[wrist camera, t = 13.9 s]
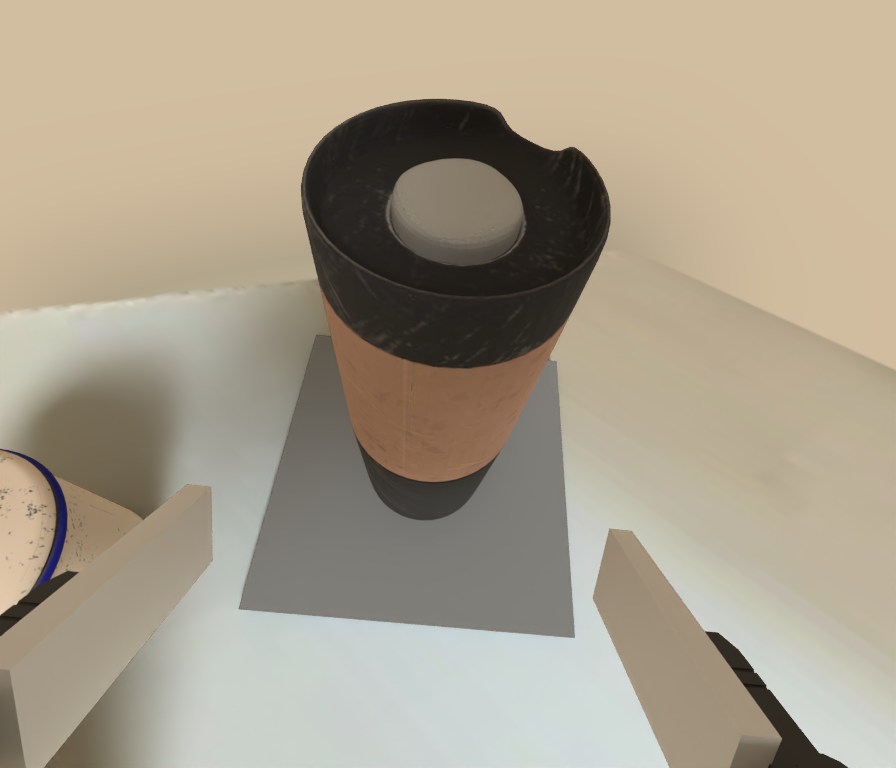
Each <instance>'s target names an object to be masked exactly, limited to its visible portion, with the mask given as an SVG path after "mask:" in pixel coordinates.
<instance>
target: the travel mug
mask: <svg viewBox="0 0 896 768" xmlns="http://www.w3.org/2000/svg"><path fill="white" fill-rule="evenodd" d="M301 197H302V208H303V215H304V220H305V224H306V228H307V232H308V237H309V241H310V245H311V250H312V254H313V258H314V263H315V267H316V271H317V276H318V280H319V285H320V289H321V293H322V298H323V302H324V306H325V311H326V315H327V320H328V324H329V328H330V333H331V337H332V341H333V346H334V350H335V354H336V359H337V363H338V368H339V372H340V376H341V381H342V385H343V389H344V394H345V398H346V402H347V407H348V411H349V416H350V420H351V423H352V427H353V431H354V434H355V437H356V440H357V443H358V446H359V449H360V452H361V455H362V458H363V461H364V464H365V467H366V470H367V473H368V476H369V478H370V481H371V483H372V486H373V488H374V490H375V492H376V493H377V495H378V497H379V498H380V499H381V500H382V502H383V503H384V504H385V505H386V506H387V507H389V508H390V509H391V510H393V511H394V512H396V513H398V514H400V515H401V516H404V517H407V518H410V519H415V520H435V519H440V518H443V517H446V516H448V515H450V514H452V513H454V512H456V511H457V510H459V509H460V508H461V507H462V506H463V505H465V504H466V503H467V501H468V500H469V499H470V498H471V497H472V495H473V494H474V492H475V491H476V489H477V488H478V486H479V485H480V483H481V481H482V480H483V478H484V477H485V475H486V473H487V472H488V470H489V469H490V467H491V466H492V464H493V462H494V461H495V459H496V458H497V456H498V454H499V453H500V451H501V450H502V448H503V446H504V445H505V443H506V442H507V440H508V438H509V436H510V434H511V432H512V430H513V428H514V426H515V424H516V422H517V420H518V418H519V416H520V414H521V412H522V410H523V408H524V406H525V404H526V402H527V400H528V398H529V396H530V394H531V392H532V390H533V388H534V386H535V384H536V382H537V380H538V378H539V376H540V374H541V372H542V370H543V368H544V366H545V364H546V362H547V360H548V358H549V356H550V354H551V352H552V350H553V348H554V346H555V344H556V342H557V340H558V338H559V336H560V334H561V332H562V330H563V328H564V326H565V324H566V322H567V320H568V318H569V316H570V314H571V312H572V311H573V309H574V307H575V305H576V303H577V301H578V299H579V297H580V295H581V293H582V291H583V289H584V287H585V285H586V283H587V281H588V279H589V277H590V275H591V273H592V271H593V269H594V267H595V265H596V263H597V261H598V259H599V256H600V254H601V252H602V249H603V247H604V245H605V242H606V240H607V236H608V232H609V227H610V202H609V197H608V193H607V190H606V187H605V185H604V182H603V180H602V178H601V177H600V175H599V173H598V171H597V169H596V168H595V167H594V165H593V164H592V163H591V162H590V160H589V159H588V158H587V157H586V156H585V155H584V154H583V153H582V152H581V151H579V150H578V149H576V148H575V147H569V148H566V149H564V150H562V151H552V150H549V149H545V148H543V147H541V146H539V145H536V144H534V143H532V142H530V141H528V140H527V139H524V138H523V137H521V136H520V135H518V134H517V133H516V132H514V131H513V130H512V129H511V128H510V127H509V125H508V124H507V123H506V121H505V119H504V117H503V116H502V114H501V113H500V112H499V111H498V110H497V109H495V108H493V107H491V106H488V105H485V104H481V103H476V102H471V101H462V100H451V99H422V100H411V101H404V102H398V103H392V104H389V105H384V106H380V107H376V108H374V109H371V110H368V111H366V112H363V113H360V114H358V115H356V116H354V117H352V118H350V119H348V120H346V121H345V122H343V123H341V124H340V125H338V126H337V127H335V128H334V129H333V130H332V131H330V132H329V133H328V134H327V135H326V136H324V137H323V139H322V140H321V141H320V142H319V143H318V144H317V145H316V147H315V148H314V150H313V152H312V153H311V155H310V156H309V158H308V161H307V163H306V166H305V169H304V172H303V177H302V183H301Z"/></svg>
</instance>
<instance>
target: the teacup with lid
mask: <svg viewBox="0 0 896 768" xmlns="http://www.w3.org/2000/svg"><path fill="white" fill-rule="evenodd" d="M142 521H143V519H142V518H141V517H140V516H138V515H137V514H136V513H134V512H133V511H131V510H129V509H127V508H124V507H122V506H120V505H118V504H116V503H113V502H111V501H109V500H107V499H105V498H102V497H100V496H98V495H96V494H94V493H91V492H89V491H87V490H85V489H83V488H80V487H78V486H76V485H74V484H72V483H69V482H67V481H65V480H63V479H61V478H59V477H56V476H54V475H53V474H52V473H51V472H50V471H49V470H48V469H47V468H46V467H45V466H43V465H42V464H40V463H39V462H37V461H36V460H34V459H32V458H30V457H28V456H26V455H23V454H20V453H17V452H13V451H9V450H3V449H0V615H1V614H2V613H3V612H5V611H6V610H7V609H9V608H10V607H11V606H13V605H17V603H18V601H19V600H20V599H22V598H23V597H24V596H26V595H27V594H28V593H30V592H31V591H32V590H34V589H35V588H36V587H37V586H39V585H40V584H42V583H44V582H46V581H48V580H50V579H52V578H54V577H56V576H58V575H60V574H62V573H64V572H66V571H73V572H80V571H81V570H83V569H84V568H85V567H86V566H88V565H89V564H90V563H91V562H92V561H94V560H95V559H96V558H97V557H99V556H100V555H101V554H102V553H103V552H105V551H106V550H107V549H108V548H110V547H111V546H112V545H113V544H115V543H116V542H117V541H118V540H119V539H121V538H122V537H123V536H124V535H126V534H127V533H128V532H129V531H130V530H132V529H133V528H134V527H135V526H137V525H138V524H139V523H140V522H142Z"/></svg>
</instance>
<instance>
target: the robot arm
mask: <svg viewBox="0 0 896 768" xmlns="http://www.w3.org/2000/svg"><path fill="white" fill-rule="evenodd" d="M211 562H212V505H211V487H208V486H198V485H189V484H187V485H186V486H185V487H183V488H182V489H181V490H180V491H178V492H177V493H176V494H175V495H173V496H172V497H171V498H170V499H169V500H167V501H166V502H165V503H164V504H162V505H161V506H160V507H159V508H158V509H156V510H155V511H154V512H153V513H151V514H150V515H149V516H148V517H146V518H145V519H144V520H143V521H142V522H140V523H139V524H138V525H137V526H135V527H134V528H133V529H132V530H130V531H129V532H128V533H127V534H126V535H124V536H123V537H122V538H121V539H119V540H118V541H117V542H116V543H115V544H113V545H112V546H111V547H110V548H108V549H107V550H106V551H105V552H103V553H102V554H101V555H100V556H99V557H97V558H96V559H95V560H94V561H92V562H91V563H90V564H89V565H88V566H86V567H85V568H84V569H83V570H81V571H80V572H73V571H66V572H64V573H62V574H60V575H58V576H56V577H54V578H52V579H50V580H48V581H46V582H44V583H42V584H40V585H39V586H37V587H36V588H35V589H34V590H32V591H31V592H30V593H28V594H27V595H26V596H24V597H23V598H22V599H20V600H19V601H18V603H17V605H13V606H11V607H10V608H9V609H7V610H6V611H5V612H3V613H2V614H1V615H0V768H44V767H45V766H46V764H47V763H48V762H49V761H50V759H51V758H52V757H53V756H54V755H55V753H56V752H57V751H58V750H59V748H60V747H61V746H62V745H63V743H64V742H65V741H66V740H67V739H68V737H69V736H70V735H71V734H72V732H73V731H74V730H75V729H76V728H77V726H78V725H79V724H80V723H81V721H82V720H83V719H84V718H85V716H86V715H87V714H88V713H89V712H90V710H91V709H92V708H93V707H94V705H95V704H96V703H97V702H98V700H99V699H100V698H101V697H102V696H103V694H104V693H105V692H106V691H107V689H108V688H109V687H110V686H111V685H112V683H113V682H114V681H115V680H116V678H117V677H118V676H119V675H120V673H121V672H122V671H123V670H124V669H125V667H126V666H127V665H128V664H129V662H130V661H131V660H132V659H133V657H134V656H135V655H136V654H137V653H138V651H139V650H140V649H141V648H142V646H143V645H144V644H145V643H146V641H147V640H148V639H149V638H150V637H151V635H152V634H153V633H154V632H155V630H156V629H157V628H158V627H159V626H160V624H161V623H162V622H163V621H164V619H165V618H166V617H167V616H168V614H169V613H170V612H171V611H172V610H173V608H174V607H175V606H176V605H177V603H178V602H179V601H180V600H181V598H182V597H183V596H184V595H185V594H186V592H187V591H188V590H189V589H190V587H191V586H192V585H193V584H194V583H195V581H196V580H197V579H198V578H199V576H200V575H201V574H202V573H203V571H204V570H205V569H206V568H207V567H208V565H209V564H210V563H211ZM593 600H594V602H595V604H596V606H597V608H598V611H599V613H600V615H601V617H602V620H603V622H604V624H605V626H606V628H607V631H608V633H609V635H610V637H611V639H612V642H613V644H614V646H615V648H616V650H617V653H618V655H619V657H620V659H621V661H622V664H623V666H624V668H625V670H626V672H627V675H628V677H629V679H630V681H631V684H632V686H633V688H634V690H635V692H636V695H637V697H638V699H639V701H640V703H641V706H642V708H643V710H644V712H645V714H646V717H647V719H648V721H649V723H650V725H651V728H652V730H653V732H654V734H655V736H656V739H657V741H658V743H659V745H660V747H661V750H662V752H663V754H664V756H665V759H666V761H667V763H668V765H669V767H670V768H848V767H846V766H845V765H844V764H842V763H841V762H839V761H837V760H835V759H833V758H831V757H829V756H826V755H824V754H820V753H819V752H818V751H817V750H816V749H815V747H814V746H813V745H812V744H811V742H810V741H809V740H808V738H807V737H806V736H805V735H804V733H803V732H802V731H801V729H800V728H799V727H798V726H797V724H796V723H795V722H794V720H793V719H792V718H791V717H790V715H789V714H788V713H787V711H786V710H785V709H784V708H783V706H782V705H781V704H780V702H779V701H778V700H777V699H776V697H775V696H774V695H773V693H772V692H771V691H770V690H767V688H766V684H765V683H764V682H763V681H762V679H761V678H760V677H759V675H758V674H757V673H754V669H753V668H752V666H751V665H750V664H749V663H748V661H747V660H746V659H745V657H744V656H743V655H742V654H741V652H740V651H739V650H738V649H737V648H736V647H735V646H733V645H732V644H731V643H730V642H729V641H727V640H726V639H725V638H724V637H723V636H721V635H720V634H719V633H716V632H705V631H704V630H703V629H702V627H701V626H700V624H699V623H698V622H697V620H696V619H695V617H694V616H693V615H692V613H691V612H690V611H689V609H688V608H687V606H686V605H685V604H684V602H683V601H682V599H681V598H680V597H679V595H678V594H677V593H676V591H675V590H674V588H673V587H672V586H671V584H670V583H669V582H668V580H667V579H666V577H665V576H664V575H663V573H662V572H661V570H660V569H659V568H658V566H657V565H656V564H655V562H654V561H653V559H652V558H651V557H650V555H649V554H648V552H647V551H646V550H645V548H644V547H643V546H642V544H641V543H640V541H639V540H638V539H637V537H636V536H635V535H634V533H633V532H632V531H628V530H618V529H609V533H608V537H607V541H606V545H605V549H604V553H603V558H602V562H601V566H600V570H599V574H598V578H597V583H596V587H595V591H594V595H593Z"/></svg>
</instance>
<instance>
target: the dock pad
mask: <svg viewBox="0 0 896 768" xmlns="http://www.w3.org/2000/svg"><path fill="white" fill-rule="evenodd" d="M239 609H243V610H254V611H265V612H277V613H289V614H301V615H312V616H324V617H336V618H347V619H359V620H371V621H383V622H394V623H406V624H418V625H429V626H441V627H453V628H465V629H476V630H488V631H500V632H511V633H523V634H535V635H547V636H558V637H570V638H575V633H574V618H573V603H572V588H571V573H570V558H569V543H568V528H567V513H566V498H565V483H564V468H563V452H562V437H561V422H560V407H559V392H558V377H557V362H556V361H550V360H547V362H546V364H545V366H544V368H543V370H542V372H541V374H540V376H539V378H538V380H537V382H536V384H535V386H534V388H533V390H532V392H531V394H530V396H529V398H528V400H527V402H526V404H525V406H524V408H523V410H522V412H521V414H520V416H519V418H518V420H517V422H516V424H515V426H514V428H513V430H512V432H511V434H510V436H509V438H508V440H507V442H506V443H505V445H504V446H503V448H502V450H501V451H500V453H499V454H498V456H497V458H496V459H495V461H494V462H493V464H492V466H491V467H490V469H489V470H488V472H487V473H486V475H485V477H484V478H483V480H482V481H481V483H480V485H479V486H478V488H477V489H476V491H475V492H474V494H473V495H472V497H471V498H470V499H469V500H468V501H467V503H466V504H465V505H463V506H462V507H461V508H460V509H459V510H457V511H456V512H454V513H452V514H450V515H448V516H446V517H443V518H440V519H435V520H415V519H410V518H407V517H404V516H401V515H400V514H398V513H396V512H394V511H393V510H391V509H390V508H389V507H387V506H386V505H385V504H384V503H383V502H382V500H381V499H380V498H379V497H378V495H377V493H376V492H375V490H374V488H373V486H372V483H371V481H370V478H369V476H368V473H367V470H366V467H365V464H364V461H363V458H362V455H361V452H360V449H359V446H358V443H357V440H356V437H355V434H354V431H353V427H352V423H351V420H350V416H349V411H348V407H347V402H346V398H345V394H344V389H343V385H342V381H341V376H340V372H339V368H338V363H337V359H336V354H335V350H334V346H333V341H332V337H331V336H322V335H316V338H315V342H314V345H313V349H312V352H311V356H310V359H309V363H308V366H307V370H306V373H305V377H304V380H303V384H302V387H301V391H300V394H299V398H298V401H297V405H296V408H295V412H294V416H293V419H292V423H291V426H290V430H289V433H288V437H287V440H286V444H285V447H284V451H283V454H282V458H281V461H280V465H279V468H278V472H277V475H276V479H275V482H274V486H273V490H272V493H271V497H270V500H269V504H268V507H267V511H266V514H265V518H264V521H263V525H262V528H261V532H260V535H259V539H258V542H257V546H256V549H255V553H254V556H253V560H252V563H251V567H250V571H249V574H248V578H247V581H246V585H245V588H244V592H243V595H242V599H241V602H240V606H239Z"/></svg>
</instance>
